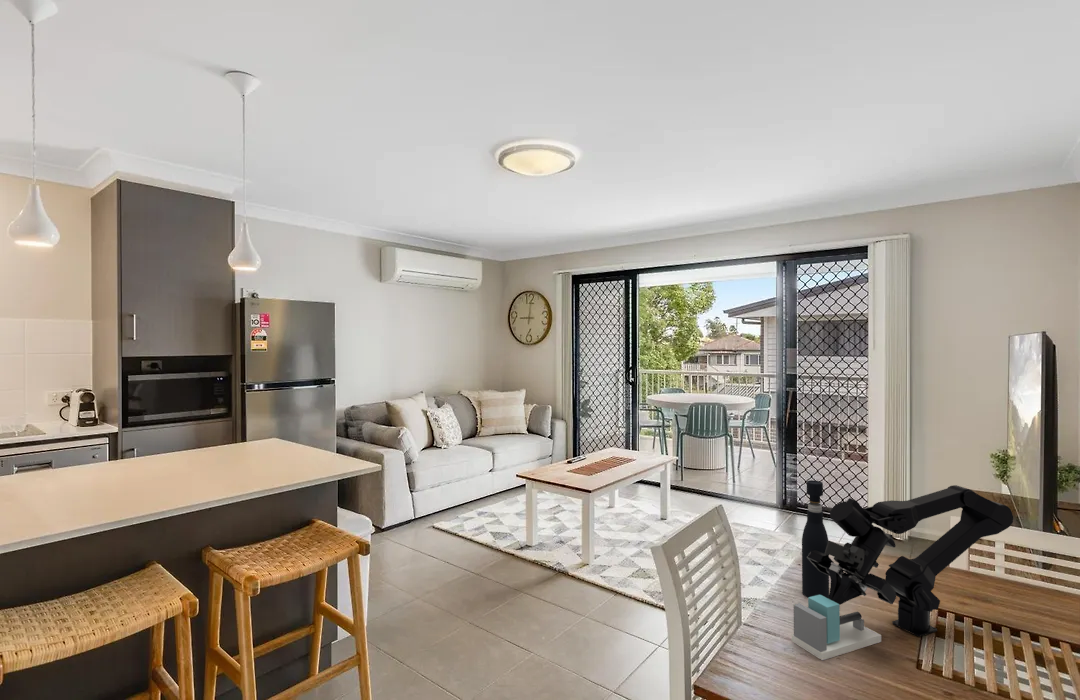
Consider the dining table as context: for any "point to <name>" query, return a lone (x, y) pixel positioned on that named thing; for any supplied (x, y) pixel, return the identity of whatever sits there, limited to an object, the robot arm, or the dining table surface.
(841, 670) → the dining table surface
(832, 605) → the teal block on rod
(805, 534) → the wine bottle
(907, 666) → the dining table surface
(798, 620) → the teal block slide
